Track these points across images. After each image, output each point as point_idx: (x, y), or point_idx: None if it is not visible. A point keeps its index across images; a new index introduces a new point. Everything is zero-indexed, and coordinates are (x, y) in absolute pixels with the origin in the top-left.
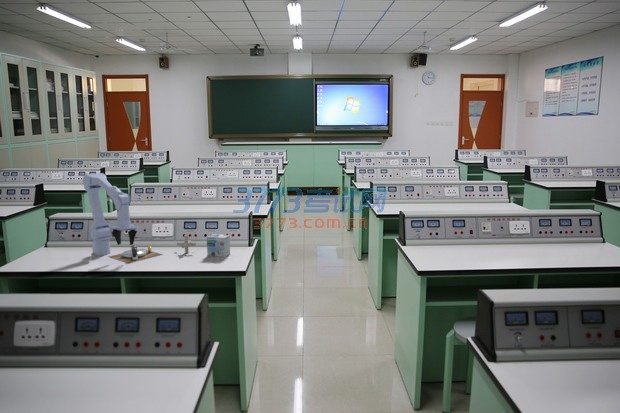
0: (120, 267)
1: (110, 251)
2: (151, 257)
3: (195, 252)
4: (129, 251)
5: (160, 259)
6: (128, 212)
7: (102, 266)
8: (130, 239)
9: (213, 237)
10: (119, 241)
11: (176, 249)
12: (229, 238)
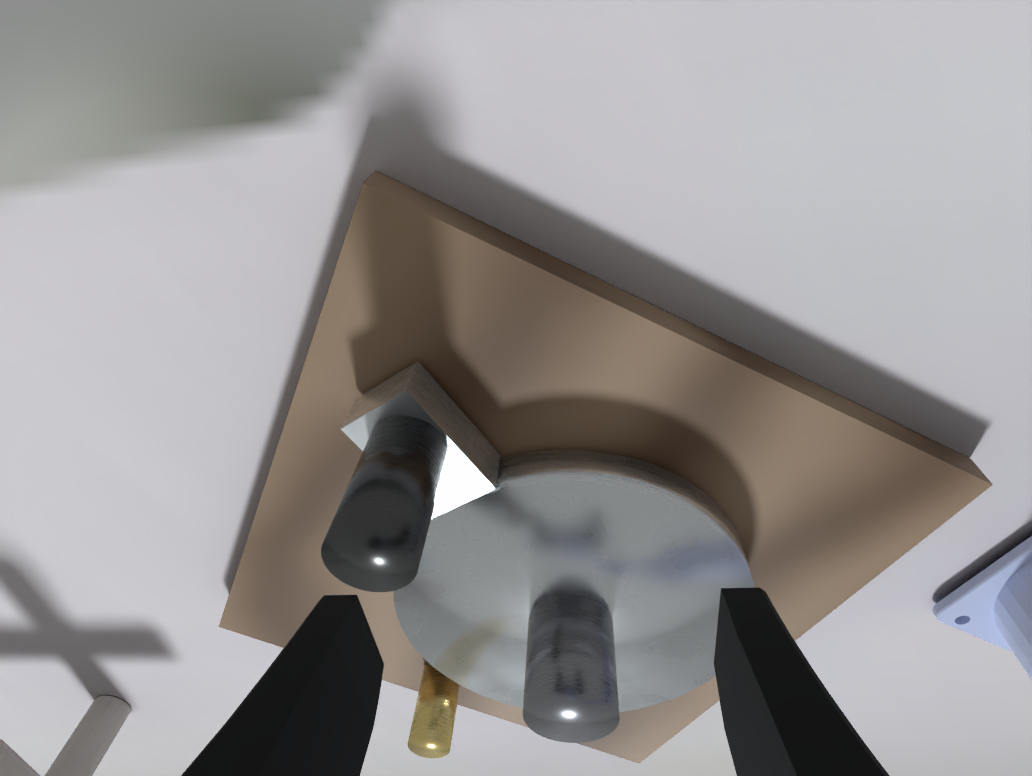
0: (471, 34)
1: (1015, 653)
2: (260, 521)
3: (53, 719)
4: (670, 636)
5: (176, 518)
6: None
7: (918, 20)
8: (232, 763)
9: None
10: (741, 710)
11: None
12: None
